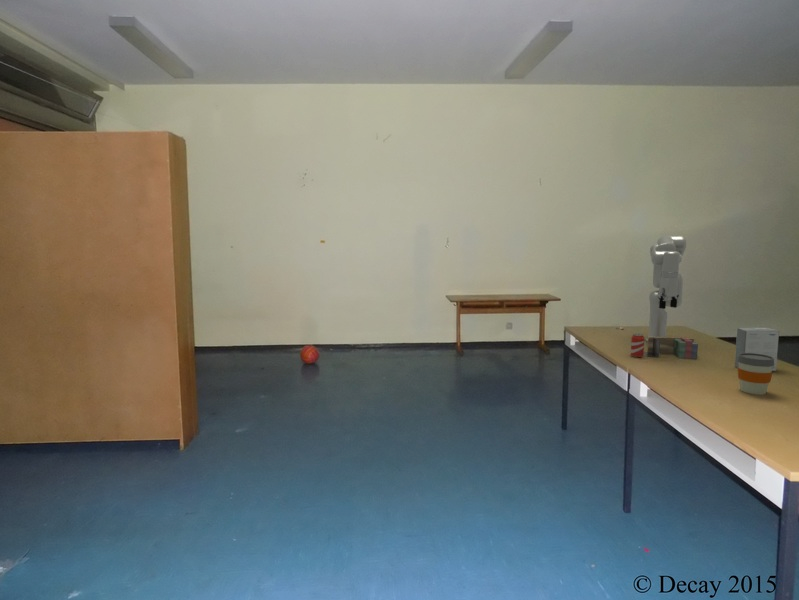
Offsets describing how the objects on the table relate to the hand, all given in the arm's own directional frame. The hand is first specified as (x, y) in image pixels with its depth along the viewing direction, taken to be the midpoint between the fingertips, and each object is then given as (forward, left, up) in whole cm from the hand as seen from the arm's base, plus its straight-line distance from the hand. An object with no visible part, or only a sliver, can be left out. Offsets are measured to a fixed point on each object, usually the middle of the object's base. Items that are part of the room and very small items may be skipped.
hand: (667, 307), depth 265 cm
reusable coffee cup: (+55, +19, -27) cm, 64 cm away
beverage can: (-1, -13, -27) cm, 30 cm away
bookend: (-6, -5, -27) cm, 28 cm away
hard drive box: (+15, +37, -27) cm, 48 cm away
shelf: (-7, +6, -27) cm, 29 cm away
